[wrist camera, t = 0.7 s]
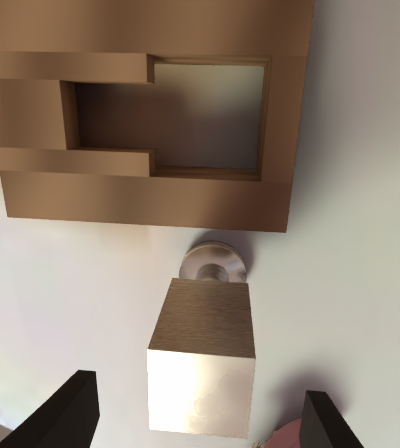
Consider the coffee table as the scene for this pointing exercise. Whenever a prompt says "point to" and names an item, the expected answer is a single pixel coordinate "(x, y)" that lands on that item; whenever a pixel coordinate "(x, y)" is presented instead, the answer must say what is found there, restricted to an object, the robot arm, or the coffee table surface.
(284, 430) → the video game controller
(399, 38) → the coffee table surface
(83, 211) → the keyhole plate
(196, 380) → the steel peg
